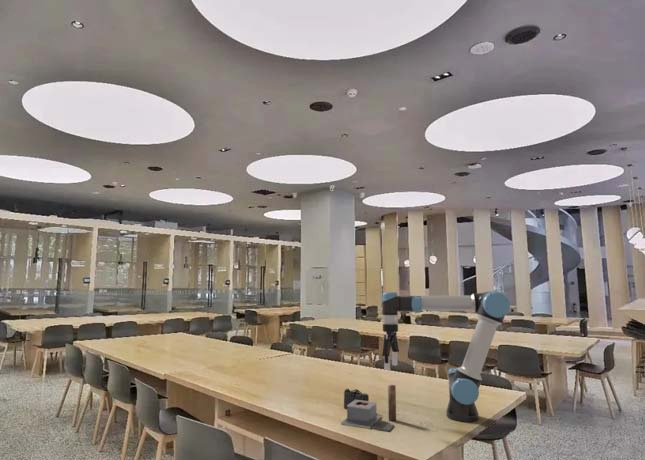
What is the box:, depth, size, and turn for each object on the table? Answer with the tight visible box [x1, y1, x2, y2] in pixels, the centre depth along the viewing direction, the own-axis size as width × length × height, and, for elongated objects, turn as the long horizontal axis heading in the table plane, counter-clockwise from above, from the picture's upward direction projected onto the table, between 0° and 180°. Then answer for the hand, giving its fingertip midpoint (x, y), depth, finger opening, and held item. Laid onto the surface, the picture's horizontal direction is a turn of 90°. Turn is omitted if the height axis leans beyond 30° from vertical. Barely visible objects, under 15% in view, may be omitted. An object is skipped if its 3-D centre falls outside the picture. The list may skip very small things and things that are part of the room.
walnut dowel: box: [387, 384, 397, 423], centre depth 195 cm, size 4×4×16 cm
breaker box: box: [341, 400, 382, 429], centre depth 194 cm, size 14×18×8 cm
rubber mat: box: [371, 421, 395, 433], centre depth 184 cm, size 8×8×1 cm
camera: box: [343, 388, 370, 410], centre depth 213 cm, size 14×11×10 cm
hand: (391, 367), depth 198 cm, fingers open, 13 cm apart
